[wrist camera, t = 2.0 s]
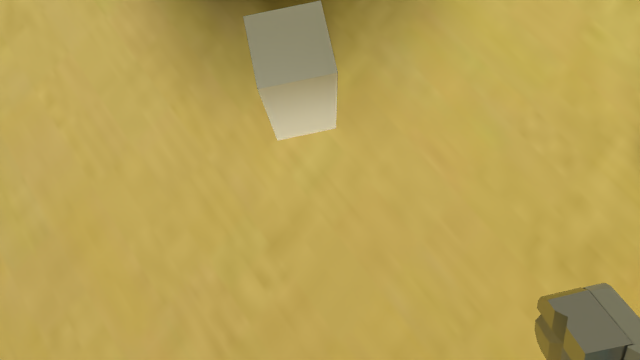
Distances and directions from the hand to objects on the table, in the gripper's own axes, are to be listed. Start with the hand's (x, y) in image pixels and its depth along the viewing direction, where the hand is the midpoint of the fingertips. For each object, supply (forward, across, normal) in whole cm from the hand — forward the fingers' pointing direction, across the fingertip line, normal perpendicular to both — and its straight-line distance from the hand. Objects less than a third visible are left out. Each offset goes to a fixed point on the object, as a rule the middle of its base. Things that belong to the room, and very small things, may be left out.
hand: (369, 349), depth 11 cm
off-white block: (+26, 0, +6) cm, 27 cm away
